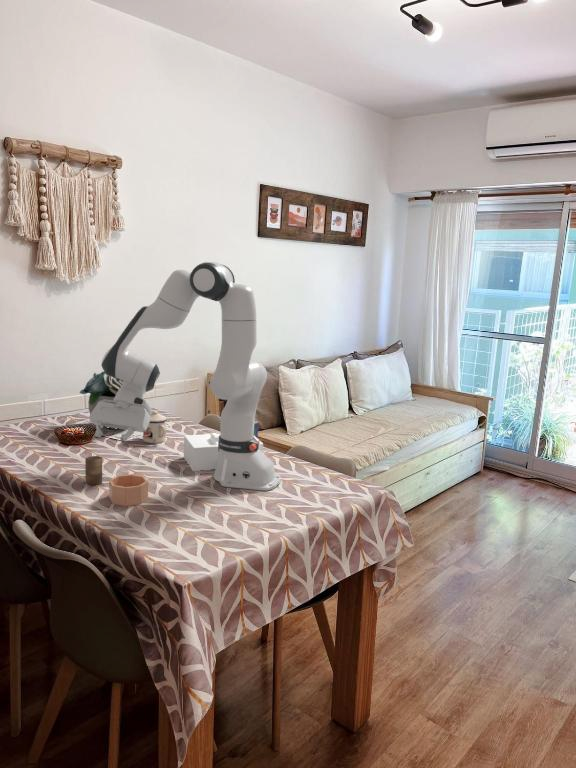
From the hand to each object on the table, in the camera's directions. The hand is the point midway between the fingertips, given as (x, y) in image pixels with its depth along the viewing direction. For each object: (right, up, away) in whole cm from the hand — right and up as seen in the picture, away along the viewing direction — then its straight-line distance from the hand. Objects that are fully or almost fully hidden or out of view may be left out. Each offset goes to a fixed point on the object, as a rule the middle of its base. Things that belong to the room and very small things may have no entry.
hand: (110, 438), depth 191 cm
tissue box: (+34, -11, +21) cm, 41 cm away
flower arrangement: (-14, 0, +54) cm, 56 cm away
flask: (+42, -7, +42) cm, 60 cm away
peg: (-3, -13, -6) cm, 15 cm away
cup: (+10, -16, -16) cm, 25 cm away
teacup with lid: (+6, -5, +39) cm, 40 cm away
